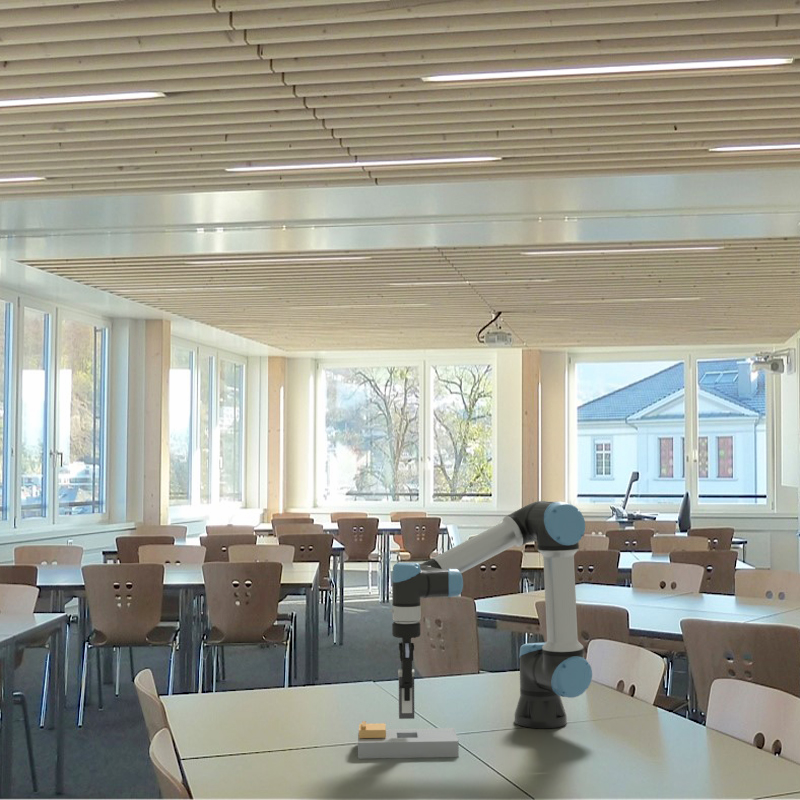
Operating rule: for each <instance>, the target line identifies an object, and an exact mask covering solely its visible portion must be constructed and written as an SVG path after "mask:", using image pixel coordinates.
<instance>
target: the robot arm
mask: <svg viewBox="0 0 800 800" xmlns="http://www.w3.org/2000/svg"><path fill="white" fill-rule="evenodd" d="M585 532H586V521H585V517H584V515H583V514H582V512H581V510H580V509H579V508H577V507H576V506H575V505H573V504H571V503H567V502H564V501H548V500H547V501H546V500H537V501H533V502H531V503H528V504H527V505H525V506H522V507H521V508H519V509H517V510H515V511H513V512H512V513H510V514H508V515H505V516H504V517H503V518H502V522H500V523H498V524H496V525H494V526H492V527H490V528H488V529H487V530H483V532H481V533H478V534H477V535H475V536H473V537H471V538H469V539H467V540H465V541H463V542H461V543H460V544H458V545H455V546H454V547H452V548H450V549H447V550H446V551H444V552H442V553H440V554H438V555H436V556H434V557H432V558H430V559H429V560H426V561H424V562H422V563H418V562H397V563H395V564H394V565H393V566H392V572H391V574H392V575H391V589H392V591H391V592H392V593H391V595H392V603H391V604H392V608H390V610H389V612H390V613H391V614H392V620H393V622H392V624H391V625H392V626H391V631H392V632H391V635H392V637H394V638H398V639H401V642H398V650H399V659H400V663H401V664H400V665H401V666H400V667H401V668H400V669H402V686H400V688H402V713H412V686H413V684H412V669H413V661H414V651H415V643H414V642H412V639H416V638H419V637H420V636H421V634H422V633H421V632H422V631H421V622H420V620H422V619H421V616H422V615H421V614H422V613H421V606H422V605H421V600H422V599H429V598H430V599H431V598H451V597H459V596H460V595H461V594H462V591H463V588H464V579H463V574H462V573H464V572H466V571H469V570H470V569H472V568H474V567H476V566H478V565H480V564H481V563H484V562H485V561H487V560H490V559H491V558H493V557H495V556H498V555H499V554H501V553H502V552H504V551H506V550H509V549H511V548H512V547H517V548H520V547H522V546H524V545H525V544H528V543H532V542H536V545H537V547H536V548H537V552H538V553H539V554H540V555H541V556H542V558H543V560H542V561H543V578H544V601H545V622H546V641H545V642H544V641H543V642H530V643H524V644H522V645H521V646H520V647H519V655H518V658H519V690H520V691H519V698H518V701H517V704H516V709H515V712H514V723H515V724H516V725H518V726H521V727H525V728H532V729H555V728H561V727H564V726H565V725H567V721H568V720H567V713H566V712H567V711H566V709H565V707H564V704H563V700H562V697H563V698H569V699H570V698H571V699H574V698H577V697H579V696H581V695H583V694H584V693H585V692H586V691H587V689H589V687H590V686H591V683H592V679H593V669H592V667H591V664H590V662H588V660H587V659H586V658H585V652H584V649H585V648H584V645H583V644H582V643H581V642H580V641H579V639H578V619H577V616H578V615H577V614H578V613H577V597H576V596H577V594H576V578H575V576H576V575H575V573H576V571H575V555H576V553H578V552H579V550H580V544H579V542H580V541H581V540H582V537H584V534H585Z"/></svg>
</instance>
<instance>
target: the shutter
mask: <svg viewBox="0 0 800 800" xmlns="http://www.w3.org/2000/svg"><path fill="white" fill-rule="evenodd" d="M386 726H387V725H386V723H367V721H364V720H363V721H361V723H359V726H358V729H359V738H386V729H387V727H386Z"/></svg>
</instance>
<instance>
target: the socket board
mask: <svg viewBox="0 0 800 800" xmlns="http://www.w3.org/2000/svg"><path fill="white" fill-rule="evenodd" d="M357 731H358V733H357V759H407V758H409V759H413V758H415V759H416V758H417V759H418V758H422V759H423V758H459V756H460V754H459V750H460V748H459V743H460V742H459V739H458V738H459V737H458V736H457V732H456V729H455V727H437V728H436V727H432V728H430V727H428V728H425V727H424V728H386V738H359V728H358V729H357Z"/></svg>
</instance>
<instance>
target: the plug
mask: <svg viewBox="0 0 800 800" xmlns="http://www.w3.org/2000/svg"><path fill="white" fill-rule="evenodd" d="M397 673H398V674H397V675H398V719H399V720H405V719H406V720H407V719H410V720H414V719H415V676H416V675H415V674H416V673H415V668H412V684H413V686H412V713H402V688H400V686H402V669H401V668H398V670H397Z"/></svg>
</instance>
